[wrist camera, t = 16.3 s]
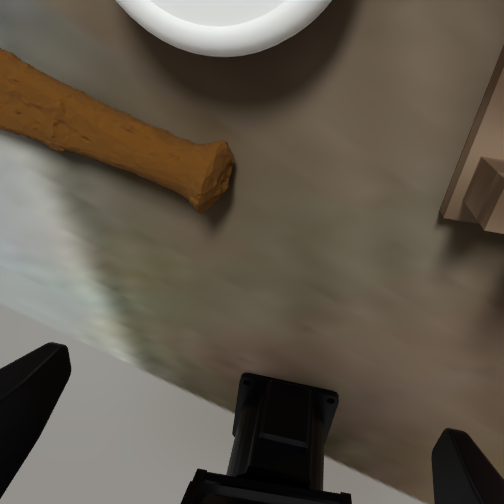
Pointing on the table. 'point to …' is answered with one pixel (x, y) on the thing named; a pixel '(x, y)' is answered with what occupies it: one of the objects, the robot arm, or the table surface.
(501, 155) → the tan two-rail tray
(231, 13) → the coaster
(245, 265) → the table surface
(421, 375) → the table surface
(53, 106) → the primitive tool
